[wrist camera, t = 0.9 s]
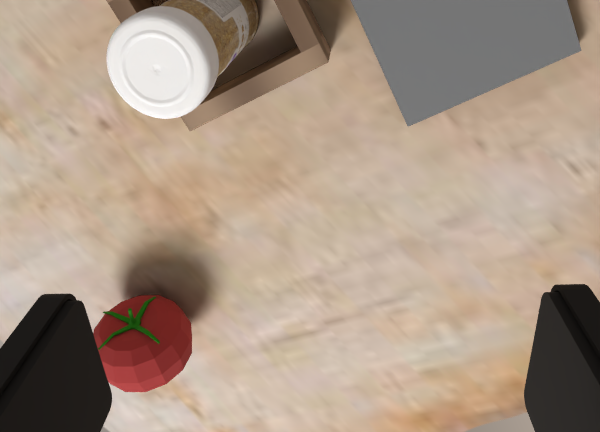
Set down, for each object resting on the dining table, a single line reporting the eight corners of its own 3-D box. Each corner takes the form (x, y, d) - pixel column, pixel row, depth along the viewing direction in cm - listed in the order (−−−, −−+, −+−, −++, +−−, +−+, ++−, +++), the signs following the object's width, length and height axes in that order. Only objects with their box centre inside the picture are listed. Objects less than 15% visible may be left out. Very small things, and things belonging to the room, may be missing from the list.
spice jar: (241, 63, 36) (184, 140, 25) (178, 28, 36) (88, 89, 24) (273, -1, 34) (227, 49, 22) (206, -41, 33) (123, -10, 22)
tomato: (142, 429, 42) (109, 370, 37) (90, 374, 47) (54, 315, 42) (220, 360, 46) (199, 299, 41) (166, 315, 51) (141, 256, 46)
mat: (521, -143, 29) (525, -144, 28) (575, 46, 34) (581, 50, 33) (335, -38, 33) (334, -37, 32) (406, 121, 37) (407, 126, 36)
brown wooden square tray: (252, -111, 31) (242, -112, 29) (330, 50, 35) (328, 62, 33) (115, -23, 34) (95, -17, 32) (201, 115, 38) (190, 131, 36)
